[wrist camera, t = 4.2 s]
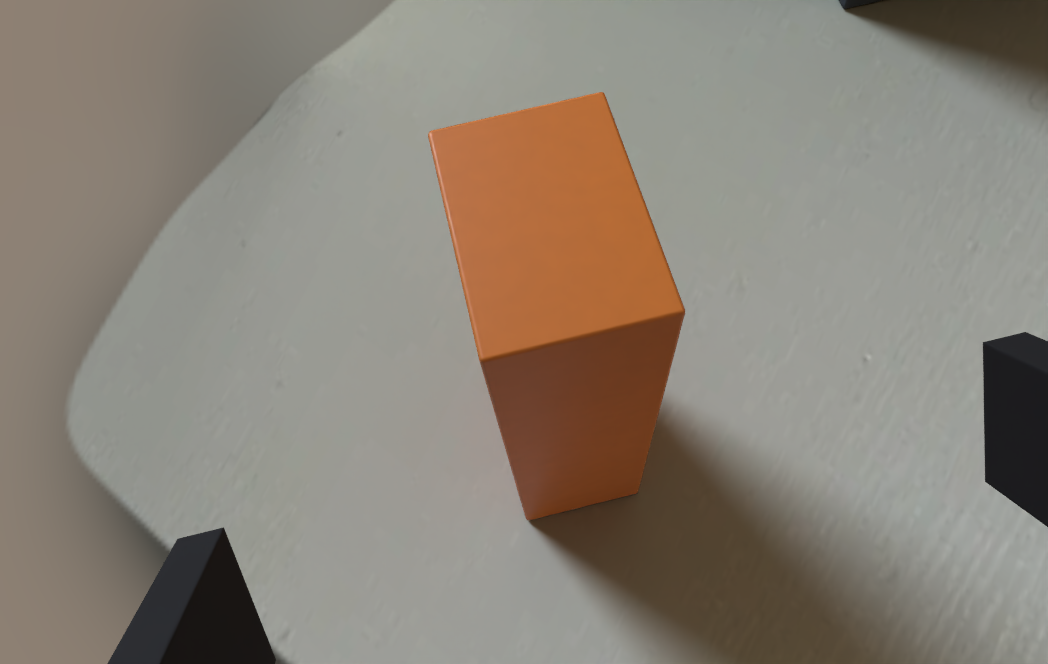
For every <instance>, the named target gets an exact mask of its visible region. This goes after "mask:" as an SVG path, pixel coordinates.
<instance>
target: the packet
mask: <svg viewBox="0 0 1048 664" xmlns="http://www.w3.org/2000/svg"><path fill="white" fill-rule="evenodd" d="M428 138H429V142H430V146H431V151H432V155H433V159H434V164H435V168H436V173H437V177H438V181H439V186H440V190H441V194H442V199H443V203H444V207H445V212H446V216H447V221H448V225H449V229H450V234H451V238H452V242H453V247H454V251H455V256H456V260H457V264H458V269H459V273H460V277H461V282H462V286H463V291H464V295H465V299H466V304H467V308H468V312H469V317H470V321H471V326H472V330H473V334H474V339H475V343H476V347H477V352H478V356H479V360H480V364H481V367H482V371H483V374H484V377H485V381H486V384H487V388H488V391H489V394H490V398H491V401H492V405H493V408H494V411H495V415H496V418H497V422H498V425H499V428H500V432H501V435H502V439H503V442H504V445H505V449H506V452H507V456H508V459H509V462H510V466H511V469H512V473H513V476H514V479H515V483H516V486H517V490H518V493H519V496H520V500H521V503H522V507H523V510H524V513H525V517H526V519H527V520H533V519H537V518H541V517H545V516H549V515H553V514H557V513H561V512H565V511H569V510H573V509H577V508H581V507H584V506H588V505H592V504H596V503H600V502H604V501H608V500H612V499H616V498H620V497H624V496H628V495H632V494H636V493H638V490H639V486H640V483H641V479H642V475H643V471H644V467H645V463H646V460H647V456H648V452H649V448H650V444H651V441H652V437H653V433H654V429H655V425H656V422H657V418H658V414H659V410H660V406H661V402H662V399H663V395H664V391H665V387H666V383H667V380H668V376H669V372H670V368H671V364H672V360H673V357H674V353H675V349H676V345H677V341H678V338H679V334H680V330H681V326H682V322H683V319H684V315H685V309H684V306H683V303H682V301H681V298H680V295H679V293H678V290H677V287H676V285H675V282H674V279H673V277H672V274H671V271H670V268H669V266H668V263H667V260H666V258H665V255H664V252H663V250H662V247H661V244H660V242H659V239H658V236H657V234H656V231H655V228H654V226H653V223H652V220H651V217H650V215H649V212H648V209H647V207H646V204H645V201H644V199H643V196H642V193H641V191H640V188H639V185H638V183H637V180H636V177H635V175H634V172H633V169H632V166H631V164H630V161H629V158H628V156H627V153H626V150H625V148H624V145H623V142H622V140H621V137H620V134H619V132H618V129H617V126H616V124H615V121H614V118H613V115H612V113H611V110H610V107H609V105H608V102H607V99H606V97H605V95H604V93H603V92H599V93H595V94H590V95H586V96H582V97H577V98H573V99H568V100H564V101H560V102H555V103H551V104H547V105H542V106H538V107H533V108H529V109H525V110H520V111H516V112H512V113H507V114H503V115H498V116H494V117H490V118H485V119H481V120H477V121H472V122H468V123H463V124H459V125H455V126H450V127H446V128H442V129H437V130H433V131H430V132H429V134H428Z"/></svg>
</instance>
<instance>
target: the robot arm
mask: <svg viewBox="0 0 1048 664" xmlns="http://www.w3.org/2000/svg"><path fill="white" fill-rule="evenodd" d="M983 372H984V434H985V482H987V483H988V484H989V485H991V486H992V487H993V488H995V489H996V490H998V491H999V492H1000V493H1002V494H1003V495H1004V496H1006V497H1007V498H1009V499H1010V500H1011V501H1013V502H1014V503H1015V504H1017V505H1018V506H1020V507H1021V508H1022V509H1024V510H1025V511H1027V512H1028V513H1029V514H1031V515H1032V516H1033V517H1035V518H1036V519H1038V520H1039V521H1040V522H1042V523H1043V524H1044V525H1046V526H1047V527H1048V341H1045V340H1043V339H1041V338H1038V337H1036V336H1034V335H1031V334H1029V333H1026V332H1024V333H1020V334H1016V335H1012V336H1008V337H1003V338H999V339H995V340H991V341H987V342H983ZM275 661H276V659H275V656H274V654H273V651H272V649H271V646H270V644H269V641H268V639H267V636H266V634H265V631H264V628H263V626H262V623H261V621H260V618H259V616H258V613H257V611H256V608H255V606H254V603H253V601H252V598H251V596H250V593H249V590H248V588H247V585H246V583H245V580H244V578H243V575H242V573H241V570H240V568H239V565H238V563H237V560H236V557H235V555H234V552H233V550H232V547H231V545H230V542H229V540H228V537H227V535H226V532H225V530H224V528H220V529H216V530H212V531H208V532H204V533H200V534H196V535H192V536H188V537H183V538H179V539H177V541H176V543H175V544H174V546H173V548H172V550H171V552H170V553H169V555H168V557H167V559H166V561H165V562H164V564H163V566H162V568H161V569H160V571H159V573H158V575H157V577H156V578H155V580H154V582H153V584H152V585H151V587H150V589H149V591H148V593H147V594H146V596H145V598H144V600H143V601H142V603H141V605H140V607H139V609H138V611H137V612H136V614H135V616H134V618H133V619H132V621H131V623H130V625H129V627H128V628H127V630H126V632H125V634H124V635H123V637H122V639H121V641H120V643H119V644H118V646H117V648H116V650H115V652H114V653H113V655H112V657H111V659H110V660H109V662H108V664H275Z"/></svg>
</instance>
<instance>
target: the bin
mask: <svg viewBox="0 0 1048 664" xmlns="http://www.w3.org/2000/svg"><path fill="white" fill-rule="evenodd" d="M877 1H881V0H839V2H840V3H841V5H842V7H843V8H844V9H846V8H851V7H855V6H859V5H864V4H868V3H873V2H877Z"/></svg>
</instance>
